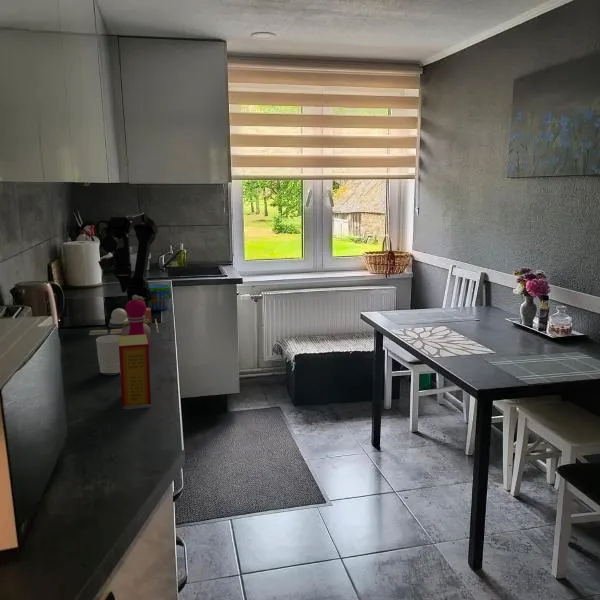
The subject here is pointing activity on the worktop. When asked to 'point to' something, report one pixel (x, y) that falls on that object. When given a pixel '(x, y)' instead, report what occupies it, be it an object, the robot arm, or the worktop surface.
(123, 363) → the baking soda box
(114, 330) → the game board
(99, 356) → the white cup
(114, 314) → the dome
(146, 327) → the decorative fruit
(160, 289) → the snack cup
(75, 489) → the worktop surface
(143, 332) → the pepper mill
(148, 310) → the die
